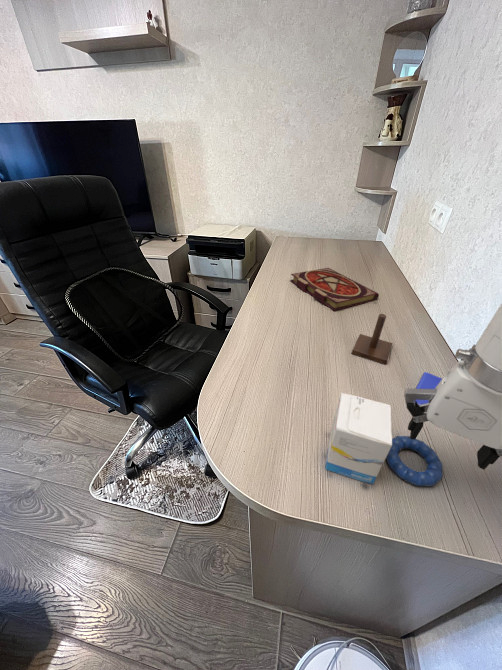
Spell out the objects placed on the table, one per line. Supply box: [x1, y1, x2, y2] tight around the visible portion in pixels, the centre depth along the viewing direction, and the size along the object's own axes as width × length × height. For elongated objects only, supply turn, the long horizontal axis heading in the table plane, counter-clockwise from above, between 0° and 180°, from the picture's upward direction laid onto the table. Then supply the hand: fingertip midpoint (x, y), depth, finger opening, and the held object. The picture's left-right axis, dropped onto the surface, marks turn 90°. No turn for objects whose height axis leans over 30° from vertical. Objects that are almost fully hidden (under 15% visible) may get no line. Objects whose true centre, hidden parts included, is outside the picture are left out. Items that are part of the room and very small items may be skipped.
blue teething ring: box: [385, 435, 444, 487], centre depth 50 cm, size 9×9×2 cm
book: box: [289, 267, 380, 312], centre depth 109 cm, size 28×21×5 cm
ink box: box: [324, 392, 393, 485], centre depth 48 cm, size 9×8×12 cm
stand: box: [351, 313, 393, 366], centre depth 75 cm, size 9×9×12 cm
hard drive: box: [415, 371, 443, 413], centre depth 63 cm, size 2×8×12 cm
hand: (444, 446), depth 45 cm, fingers open, 9 cm apart
